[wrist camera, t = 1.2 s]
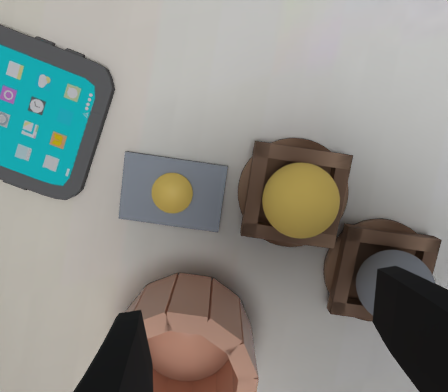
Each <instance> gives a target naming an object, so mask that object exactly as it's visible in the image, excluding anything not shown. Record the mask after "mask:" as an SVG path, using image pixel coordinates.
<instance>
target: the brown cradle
mask: <svg viewBox="0 0 448 392" xmlns="http://www.w3.org/2000/svg"><path fill="white" fill-rule="evenodd" d="M440 244H441V240H440V239H438V238H436V237H434V236H429V235H422V234H417V233H416V232H415V231H413V230H412V229H410V228H408V227H407V226H405V225H403V224H401V223H398V222H396V221H393V220H388V219H370V220H365V221H362V222H359V223H357V224H354V225H352V224H345V223H344V228H343V232H342V233H341V234H340V235H339V236H338V237H337V238H336V241H335V245H334V249H331V248H329V250H328V253H327V255H326V259H325V263H324V280H325V284H326V287H327V289H328V291H329V293H330V295H329V300H328V304H327V309H328V311H329V312H330V314H334V315H341V316H349V317H355V318H358V319H361V320H366V321H373V315H372V314H370V313H369V312H368V311H367V310H366V309H365V307H364V306H363V304H362V303H361V301H360V299H359V297H358V294H357V290H356V277H357V273H358V271H359V268H360V267H361V265H362V264H363V262H364V261H365V260H366V259H367V258H369V257H370V256H371V255H373V254H375V253H377V252H380V251H384V250H400V251H404V252H407V253H410V254H412V255H414V256H416V257H417V258H418V259H420V260H421V261H422V262H423V263H424V264H425V265H426V266H427V267H428V269H429V270H430V271H431V273H432V275H433V271H434V267H435V263H436V259H437V255H438V252H439V248H440Z"/></svg>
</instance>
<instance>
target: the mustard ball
mask: <svg viewBox="0 0 448 392" xmlns="http://www.w3.org/2000/svg"><path fill="white" fill-rule="evenodd" d="M262 204H263V210H264V213H265V215H266V218H267V219H268V221H269V222H270V224H271V225H272V226H273V227H274V228H275V229H276V230H277V231H279V232H280V233H282V234H284V235H286V236H289V237H292V238H299V239H302V238H310V237H314V236H316V235H319V234H321V233H322V232H324V231H325V230H326V229H328V228H329V227H330V226H331V224H332V223H333V222H334V220H335V218H336V216H337V214H338V211H339V206H340V195H339V190H338V187H337V185H336V183H335V181H334V180H333V178H332V177H331V176H330V175H329V174H328V173H327V172H326V171H325V170H323V169H322V168H320V167H318V166H316V165H313V164H309V163H292V164H289V165H286V166H284V167H282V168H280V169H279V170H277V171H276V172H275V173H274V174H273V175H272V176H271V177H270V179H269V180H268V182H267V183H266V185H265V188H264V191H263V197H262Z"/></svg>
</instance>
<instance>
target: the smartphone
mask: <svg viewBox="0 0 448 392" xmlns="http://www.w3.org/2000/svg"><path fill="white" fill-rule="evenodd" d="M114 91H115V88H114V83H113V79H112V77H111V74H110V72H109V70H108V69H106V68H105V67H103V66H101V65H100V64H98V63H96V62H93V61H91V60H88V59H86V58H85V55H83V54H81V53H78V52H76V51H73V50H70V49H68V48H67V49H66V50H63V49H60V48H58V47H55V44H54V43H53V42H50V41H48V40H45V39H42V38H40V37H37V36H36V37H35V38H32V37H29V36H27V35H24V34H22V33H19V32H17V31H14V30H12V29H9V28H6V27H4V26H1V25H0V179H1V180H3V182H5V183H8V184H11V185H13V186H16V187H19V188H22V189H24V190H27V189H28V190H31V191H33V192H36V193H39V194H42V195H44V196H48V197H51V198H55V199H61V200H67V199H69V198H71V197H73V196H76V195H78V194H79V193H80V192H81V191H82V190H83V189H84V186H85V182H86V179H87V176H88V173H89V170H90V167H91V164H92V160H93V157H94V154H95V151H96V148H97V145H98V142H99V138H100V135H101V132H102V129H103V126H104V123H105V120H106V116H107V113H108V110H109V107H110V104H111V101H112V98H113V95H114Z"/></svg>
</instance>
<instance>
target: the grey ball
mask: <svg viewBox="0 0 448 392" xmlns="http://www.w3.org/2000/svg"><path fill="white" fill-rule="evenodd" d="M391 266H398V267H400V268H403V269H405V270H407V271H410V272H412V273H414V274H416V275H418V276H420V277H422V278H424V279H427V280H429V281H431V282H433V283H435V280H434V278H433V275H432V273H431V271H430V270H429V269H428V267H427V266H426V265H425V264H424V263H423V262H422V261H421V260H420V259H418V258H417V257H416V256H414V255H412V254H410V253H407V252H404V251H400V250H384V251H380V252H377V253H375V254H373V255H371V256H370V257H369V258H367V259H366V260H365V261H364V262H363V264H362V265H361V267H360V268H359V271H358V273H357V277H356V290H357V294H358V297H359V299H360V301H361V303H362V304H363V306H364V307H365V309H366V310H367V311H368V312H369V313H370V314H372V315H373V310H374V299H375V289H376V278H377V269H379V268H385V267H391Z"/></svg>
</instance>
